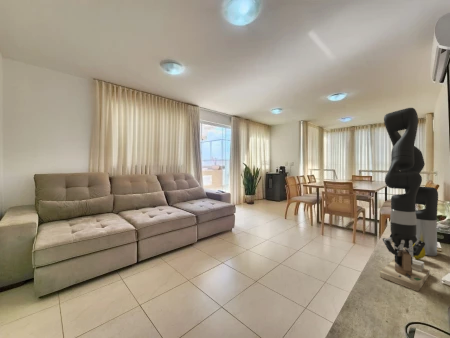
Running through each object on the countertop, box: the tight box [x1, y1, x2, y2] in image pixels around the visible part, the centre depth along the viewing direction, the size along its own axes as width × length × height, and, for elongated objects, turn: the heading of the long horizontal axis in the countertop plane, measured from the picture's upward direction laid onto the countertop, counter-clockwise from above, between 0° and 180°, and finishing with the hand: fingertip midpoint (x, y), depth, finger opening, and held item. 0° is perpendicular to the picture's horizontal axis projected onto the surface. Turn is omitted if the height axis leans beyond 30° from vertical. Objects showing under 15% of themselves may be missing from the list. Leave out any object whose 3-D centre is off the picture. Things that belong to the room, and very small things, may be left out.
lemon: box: [412, 243, 426, 260], centre depth 89 cm, size 6×6×8 cm
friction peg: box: [395, 248, 412, 278], centre depth 75 cm, size 8×5×8 cm, turn 158°
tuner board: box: [379, 258, 431, 292], centre depth 77 cm, size 18×11×4 cm, turn 124°
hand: (403, 264), depth 75 cm, fingers closed on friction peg, 2 cm apart
